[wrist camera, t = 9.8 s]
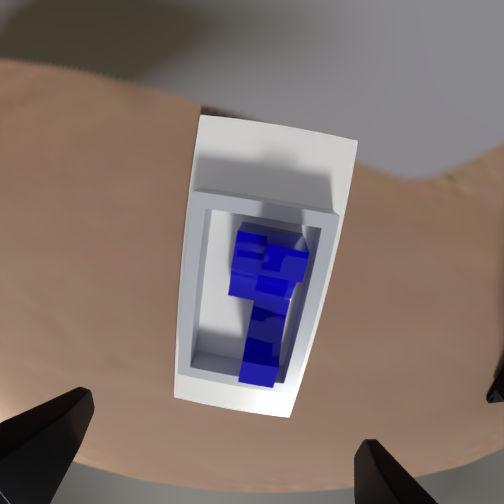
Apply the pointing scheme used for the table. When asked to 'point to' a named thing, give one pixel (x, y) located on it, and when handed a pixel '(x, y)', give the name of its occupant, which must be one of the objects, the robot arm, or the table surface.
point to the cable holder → (265, 293)
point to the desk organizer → (223, 243)
